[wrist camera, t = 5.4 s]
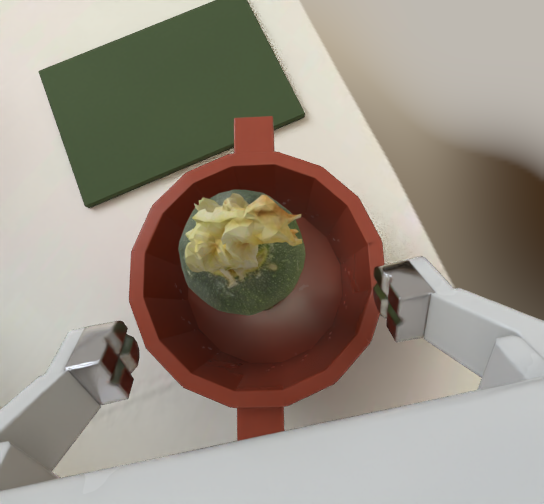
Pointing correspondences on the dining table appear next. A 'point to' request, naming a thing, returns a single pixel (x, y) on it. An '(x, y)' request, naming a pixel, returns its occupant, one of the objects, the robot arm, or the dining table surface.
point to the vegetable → (241, 251)
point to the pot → (284, 315)
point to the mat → (165, 97)
